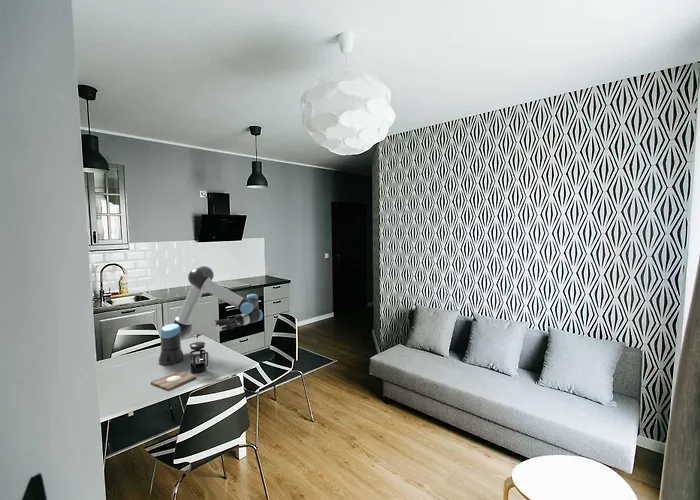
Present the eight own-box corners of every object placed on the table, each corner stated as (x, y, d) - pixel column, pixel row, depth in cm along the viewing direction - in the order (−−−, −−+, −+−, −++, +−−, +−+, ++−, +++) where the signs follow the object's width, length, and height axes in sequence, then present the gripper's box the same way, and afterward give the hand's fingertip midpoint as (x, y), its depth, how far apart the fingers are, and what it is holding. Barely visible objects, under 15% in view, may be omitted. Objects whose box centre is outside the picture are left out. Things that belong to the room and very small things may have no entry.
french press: (185, 373, 221) (184, 336, 219) (193, 367, 230) (192, 331, 228) (204, 374, 220) (203, 337, 218) (211, 367, 229) (210, 332, 227)
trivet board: (150, 383, 207) (150, 381, 207) (179, 372, 222) (179, 370, 222) (168, 390, 199) (167, 388, 199) (196, 378, 214) (196, 376, 214)
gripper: (251, 328, 237) (221, 337, 222) (232, 322, 254) (202, 330, 239) (250, 317, 236) (220, 325, 221) (231, 311, 253) (201, 319, 238)
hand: (211, 327), depth 230 cm, fingers open, 13 cm apart
